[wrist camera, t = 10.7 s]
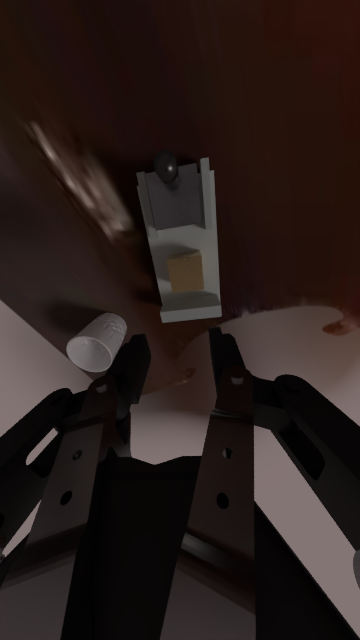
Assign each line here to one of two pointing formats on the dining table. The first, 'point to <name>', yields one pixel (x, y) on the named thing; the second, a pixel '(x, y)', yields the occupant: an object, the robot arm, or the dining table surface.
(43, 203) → the dining table surface
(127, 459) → the robot arm
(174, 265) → the tan cube
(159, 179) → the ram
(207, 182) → the press
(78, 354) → the white cup
